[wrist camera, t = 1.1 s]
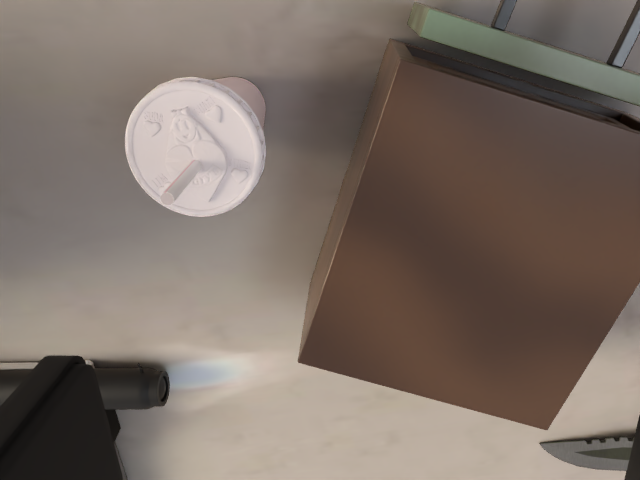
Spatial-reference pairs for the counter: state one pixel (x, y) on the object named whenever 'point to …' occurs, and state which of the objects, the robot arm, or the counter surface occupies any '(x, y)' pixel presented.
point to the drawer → (533, 54)
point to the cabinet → (476, 241)
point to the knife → (593, 452)
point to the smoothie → (198, 143)
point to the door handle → (105, 389)
